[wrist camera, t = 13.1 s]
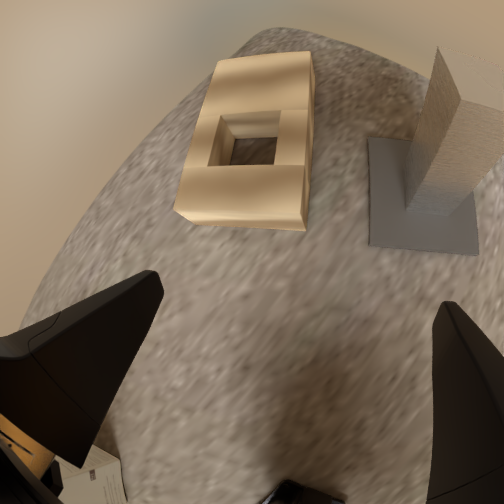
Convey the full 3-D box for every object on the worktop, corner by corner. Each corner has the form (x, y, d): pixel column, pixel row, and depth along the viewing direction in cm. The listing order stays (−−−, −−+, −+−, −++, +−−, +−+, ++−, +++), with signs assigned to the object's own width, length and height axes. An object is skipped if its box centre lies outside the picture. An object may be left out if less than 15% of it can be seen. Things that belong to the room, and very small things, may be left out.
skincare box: (128, 503, 20) (45, 546, 6) (95, 484, 22) (14, 514, 8) (120, 455, 22) (17, 492, 8) (86, 437, 24) (-10, 458, 10)
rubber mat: (475, 256, 17) (479, 254, 17) (368, 245, 20) (369, 243, 20) (462, 153, 19) (464, 150, 19) (367, 140, 22) (368, 136, 22)
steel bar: (448, 215, 18) (527, 120, 6) (405, 210, 20) (461, 99, 7) (443, 173, 19) (499, 65, 7) (402, 167, 20) (437, 46, 8)
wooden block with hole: (306, 231, 22) (299, 213, 18) (195, 224, 25) (173, 209, 22) (315, 77, 26) (310, 51, 22) (230, 84, 29) (218, 61, 25)
